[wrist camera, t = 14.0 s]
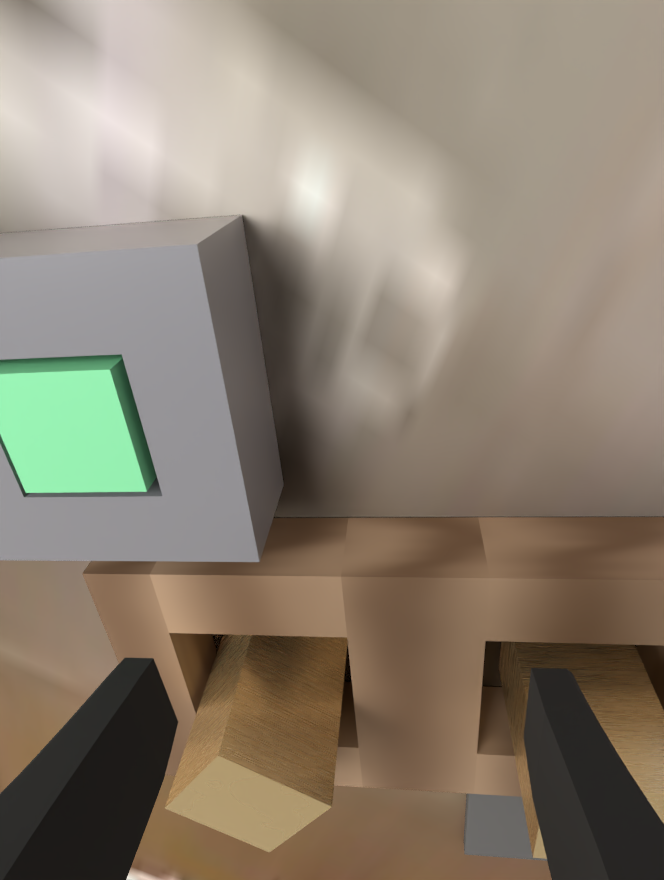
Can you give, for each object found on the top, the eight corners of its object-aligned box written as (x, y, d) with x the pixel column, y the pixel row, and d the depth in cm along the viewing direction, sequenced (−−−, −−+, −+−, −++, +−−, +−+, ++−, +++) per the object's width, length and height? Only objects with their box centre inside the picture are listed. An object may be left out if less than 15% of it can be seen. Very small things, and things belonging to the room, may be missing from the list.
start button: (156, 328, 16) (109, 369, 14) (183, 437, 18) (146, 491, 15) (40, 334, 17) (-26, 375, 14) (78, 439, 18) (25, 492, 16)
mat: (674, 755, 25) (680, 768, 25) (637, 854, 30) (641, 867, 29) (469, 745, 26) (471, 757, 26) (463, 841, 31) (464, 854, 30)
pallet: (750, 516, 19) (807, 581, 16) (672, 734, 24) (704, 808, 22) (120, 518, 21) (82, 573, 19) (187, 712, 27) (165, 775, 25)
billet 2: (614, 600, 21) (701, 795, 15) (598, 670, 23) (669, 867, 17) (505, 599, 22) (546, 787, 16) (498, 667, 24) (532, 857, 18)
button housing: (241, 214, 15) (196, 244, 12) (283, 484, 20) (259, 561, 16) (-53, 237, 17) (-171, 269, 13) (49, 486, 21) (-19, 559, 18)
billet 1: (349, 627, 23) (331, 806, 17) (300, 675, 25) (269, 852, 19) (266, 583, 23) (218, 755, 16) (222, 636, 24) (164, 808, 18)
